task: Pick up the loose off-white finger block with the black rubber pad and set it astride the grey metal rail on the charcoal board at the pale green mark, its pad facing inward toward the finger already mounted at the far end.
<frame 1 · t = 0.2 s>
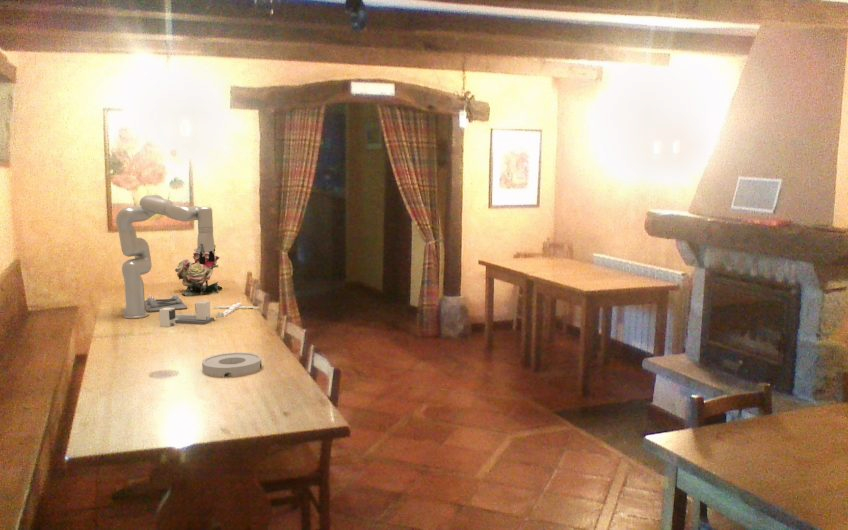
hand: (207, 262, 380), 31 cm above the table, fingers open, 9 cm apart
grey tray: (164, 307, 423), on the table
rail board: (188, 321, 381), on the table
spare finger: (167, 325, 372), on the table
articulated figure: (230, 313, 406), on the table
ashtray: (232, 369, 291), on the table
rose bouquet: (199, 293, 467), on the table
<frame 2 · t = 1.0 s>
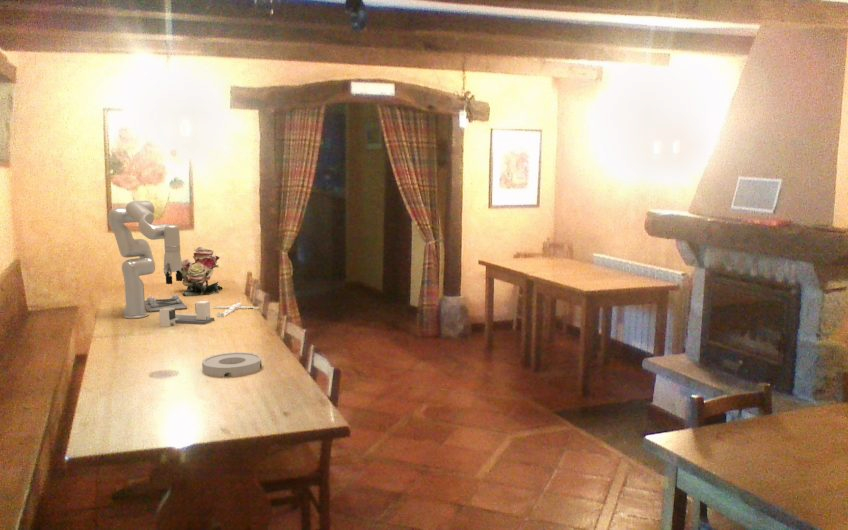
hand: (174, 282, 371), 22 cm above the table, fingers open, 9 cm apart
nothing on the table moved.
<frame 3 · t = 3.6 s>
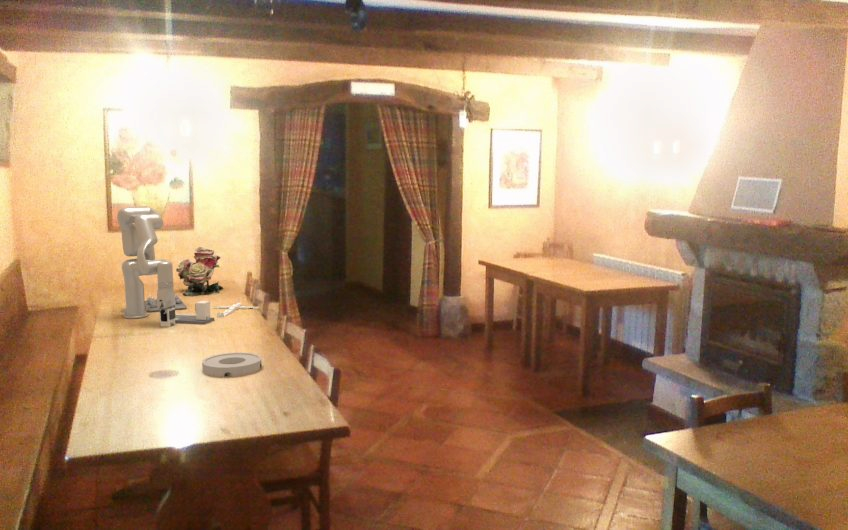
hand: (167, 319, 371), 3 cm above the table, fingers closed on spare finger, 5 cm apart
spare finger: (167, 325, 372), on the table, touching gripper
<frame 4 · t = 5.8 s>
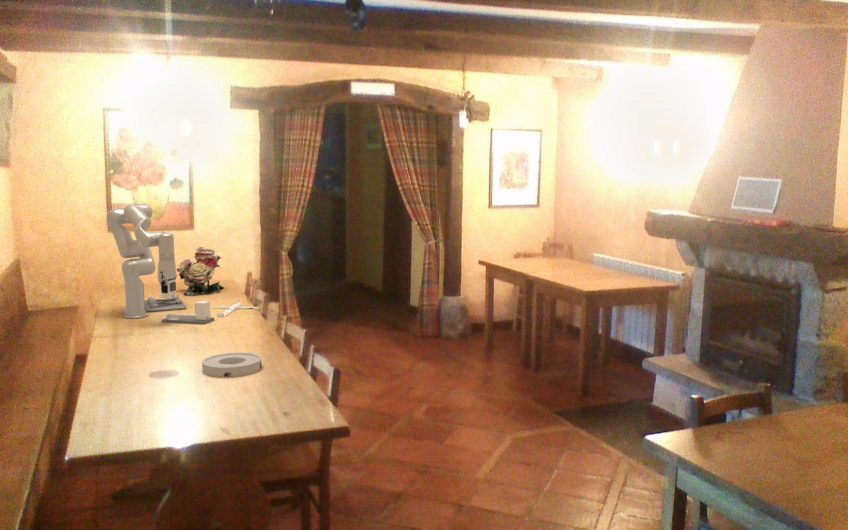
hand: (168, 291, 373), 17 cm above the table, fingers closed on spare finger, 5 cm apart
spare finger: (168, 297, 373), point 14 cm above the table, touching gripper
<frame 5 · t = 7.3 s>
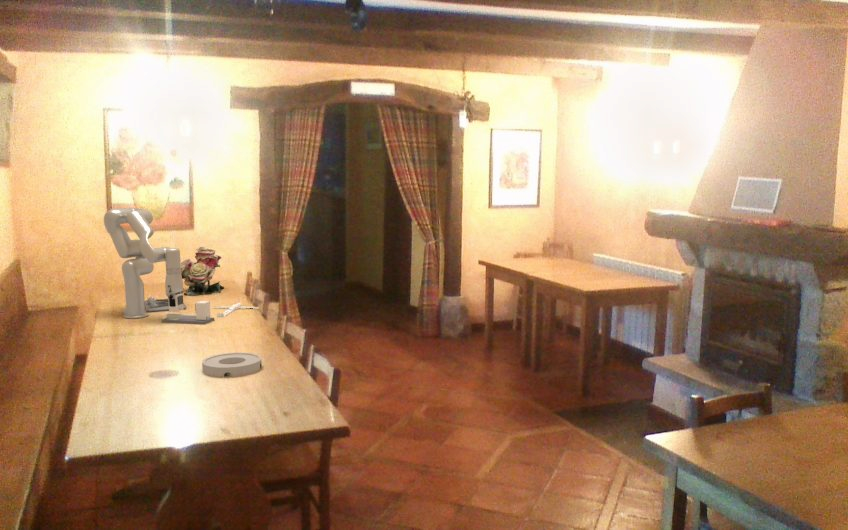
hand: (175, 305, 381), 9 cm above the table, fingers closed on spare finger, 5 cm apart
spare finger: (176, 310, 382), point 6 cm above the table, touching gripper
when the fingers open (6 cm above the table, at t = 8.2 s): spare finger stays where it is, resting on rail board.
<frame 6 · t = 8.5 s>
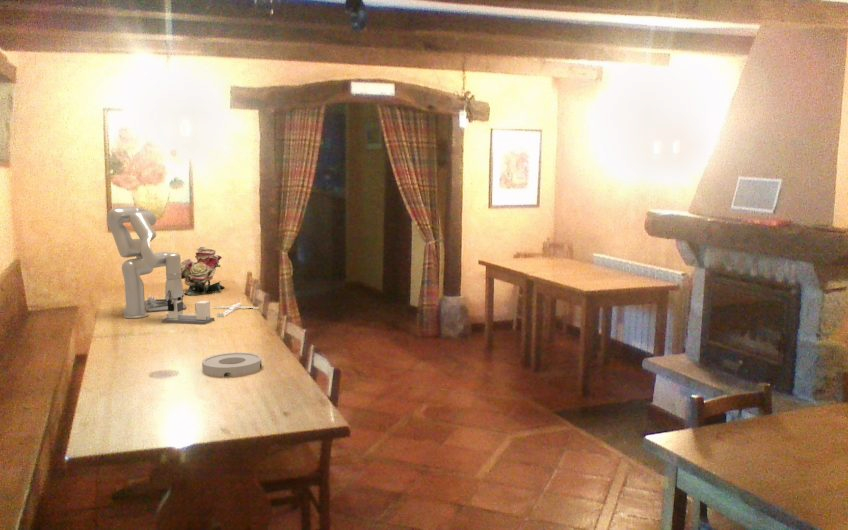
hand: (175, 309, 382), 6 cm above the table, fingers open, 8 cm apart
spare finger: (176, 317, 382), point 2 cm above the table, touching rail board
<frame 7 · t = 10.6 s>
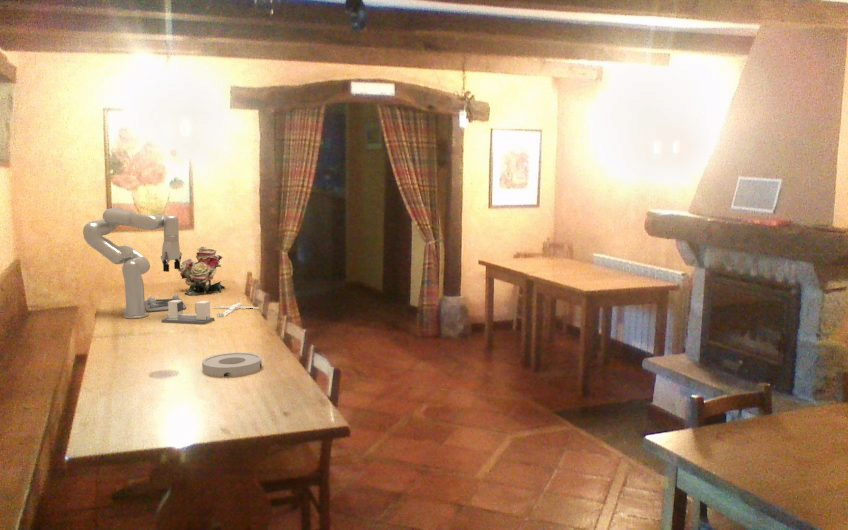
hand: (171, 270, 389), 26 cm above the table, fingers open, 9 cm apart
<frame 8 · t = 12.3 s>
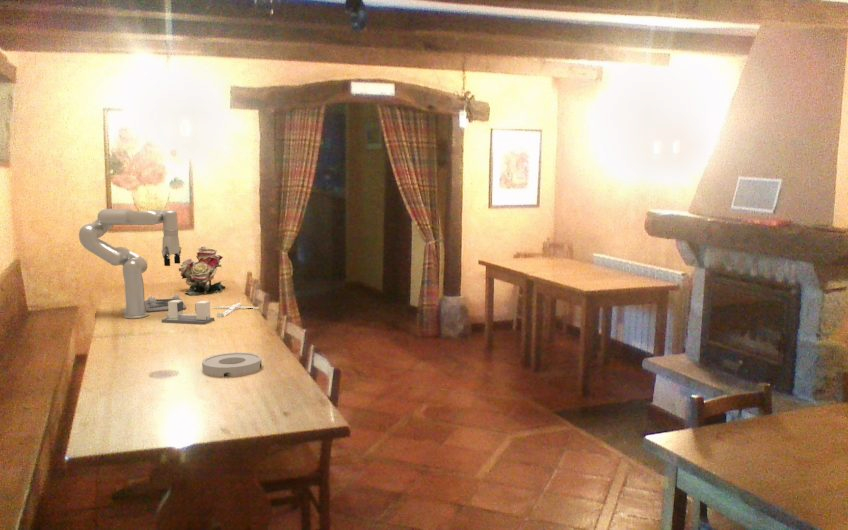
hand: (172, 264, 392), 28 cm above the table, fingers open, 9 cm apart
at the end: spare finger 0.0 cm from the target spot on the rail board, point 1.9 cm above the rail board's base; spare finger tilted 0°; the gripper is holding nothing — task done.
